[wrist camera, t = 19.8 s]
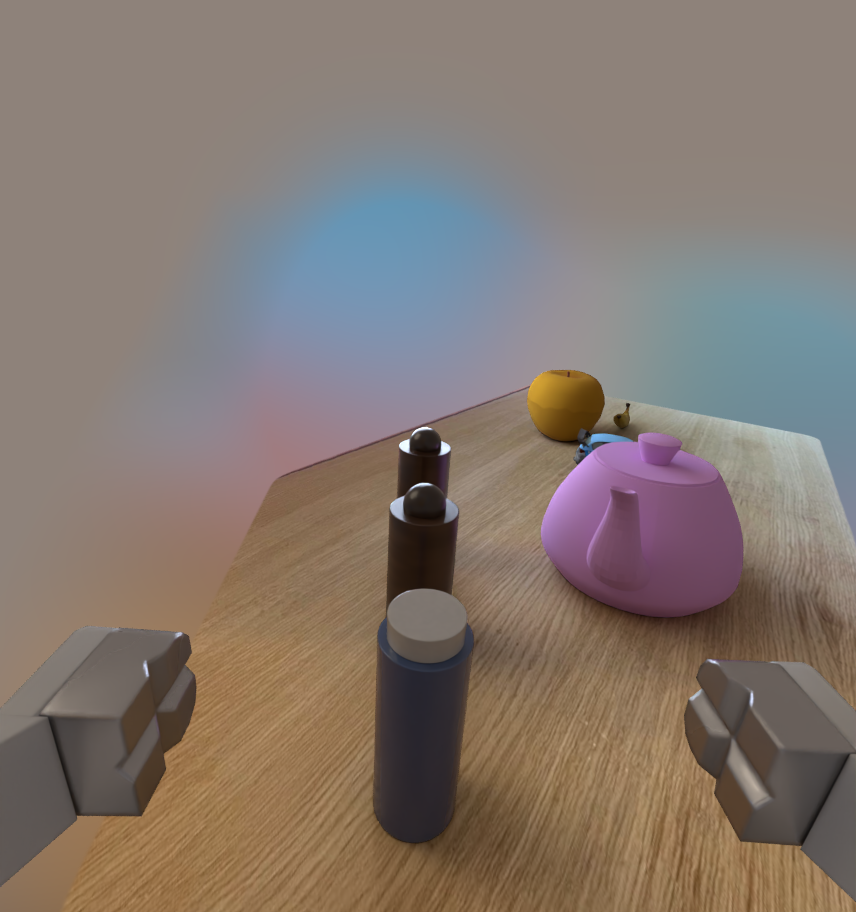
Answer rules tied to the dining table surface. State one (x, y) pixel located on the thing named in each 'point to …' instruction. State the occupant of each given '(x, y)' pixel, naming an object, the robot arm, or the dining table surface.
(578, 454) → the toy car
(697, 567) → the teapot
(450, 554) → the near mill
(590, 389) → the apple
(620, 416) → the banana
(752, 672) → the robot arm
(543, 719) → the dining table surface
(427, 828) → the blue shaker
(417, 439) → the far mill
